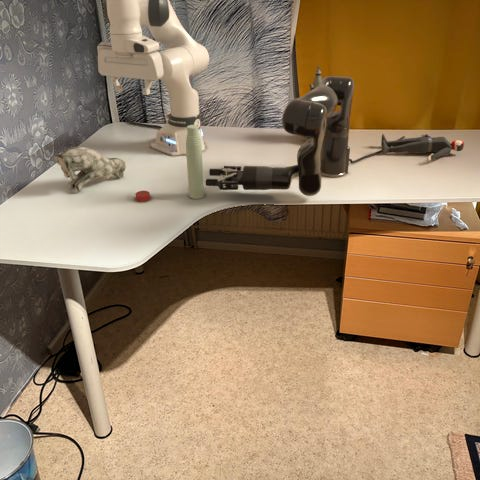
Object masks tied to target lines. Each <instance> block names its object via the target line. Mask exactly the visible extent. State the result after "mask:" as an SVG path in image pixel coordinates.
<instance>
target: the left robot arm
mask: <svg viewBox="0 0 480 480" xmlns="http://www.w3.org/2000/svg"><path fill="white" fill-rule="evenodd" d="M101 2H102V7H103V14H104V15H103V16H104V20H105V21H106V22H107V23H108V24H110V25H109V26H110V27H109V37H110V38H109V39H110V41H108V42H106V41H100V43H98V45H97V47H96V49H97V50H96V51H97V71H98V73H99V74H100V76H105V77H109V79H110V81H111V83H112V84H113V86H114V90H115V92H117V93H121V92H123V90H124V89H123V84H120V82H119V80H118V79H119V78H124V79H125V78H126V79H134V80H135V79H136V80H144V84H145V87H143V88H142V89H141V90H142V95H143V96H149V95H150V94H151V87H152V85H153V82H154V81H159V80H160V81H161V82H162V83H163V84H164V87H165V88H166V90H167V94H168V99H169V106H170V107H169V108H170V109H169V110H170V113H168V114H167V115H165V119H166V120H167V123H166V124H164V125H163V126H161V125H157V124H156V125H155V124H147V123H141V122H134V121H131V119H132V115H131V114H129V115H128V117H127V122H128V123H129V124H131V125H134V126H141V127H147V128H156V129H158V130H157V131H156V134H155V135H156V136H155V137H156V138H155V141H153V142H151V144H150V148H152V149H154V150H157V151H159V152H161V153H164V154H167V155H169V156H174V157H175V156H176V157H177V156H182V155H183V156H187V155H186V138H187V134H188V133H187V126H189V125H197V126H198V134H199V136H200V139H201V144H202V152H204V151H205V149H206V145H205V142H204V139H203V138H204V133H203V131H202V130H203V129H202V127H201V126H202V115H201V112H200V100H199V99H200V98H199V97H200V95H199V92H198V91H197V90H196V89H195V88H194V87H192V85H191V82H190V77H191V76H194V75H197V74H199V73H201V72H202V71H204V70H205V69H206V68H207V67H208V65H209V63H210V55H209V51H208V50H207V48H206V47H205V46H204V45H202V44H200V43H199V42H197V41H196V40H195V39H194V38H193V37H192V36H191V35H190V34H189V33H188V32H187V30H186V29H185V28H184V27H183V25H182V23H181V22H180V20H179V18H178V16H177V14H176V12H175V9H174V8H173V6H172V3H171V1H170V0H102V1H101ZM142 27H147V28H148V30H149V31H150V34H151V36H152V37H153V39H151V38H149V37H148V36H146V35H143V29H142ZM160 44H162V45H163V46H164V47H165V48H167V49H164V50H162V51H160V52H159V49H160Z"/></svg>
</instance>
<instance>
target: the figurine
mask: <svg viewBox="0 0 480 480" xmlns="http://www.w3.org/2000/svg"><path fill="white" fill-rule="evenodd" d="M54 160H55V163H57V165H59V166H60V170H61V171H62V173H63V176H64V177H65V178H67V179H68V178H69V179H70V180H71V181H70V182H69V183H68V186H69V188H70V189H71V190H76V192H77V193H81V192H82V187H84V185H85V184H87V183H88V182H90V181H92V180H94V179H96V180H108V179H109V178H111V176H113V177H118V178H124V174H125V173H124V172H125V171H126V169H127V166H126V161H125V160H124V159H121V158H118V157H111V158H110V157H106V156H104V155H103V154H102V153H100V152H98V151H97V150H95V149H93V148H89V147H83V146H72V147H69V148H67V149H65V150H64V151H63V152H58V153H57V154H56V155H55V156H54ZM76 172H78V173H76Z"/></svg>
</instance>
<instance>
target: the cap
mask: <svg viewBox="0 0 480 480" xmlns="http://www.w3.org/2000/svg"><path fill="white" fill-rule="evenodd" d="M134 195H135V200H136V201H137V202H140V203H145V202H149V201H150V200H151V193H150V191H148V190H139V191H137V192H135V194H134Z"/></svg>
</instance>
